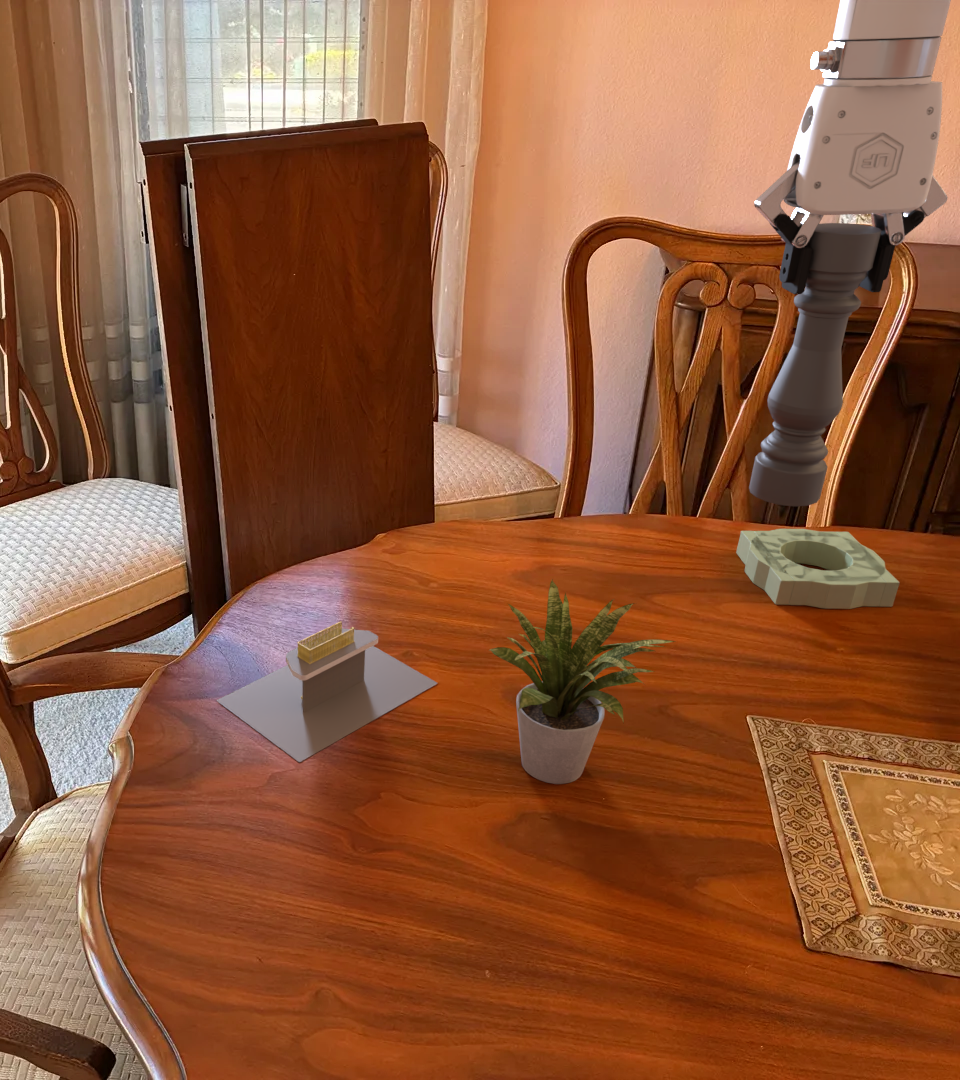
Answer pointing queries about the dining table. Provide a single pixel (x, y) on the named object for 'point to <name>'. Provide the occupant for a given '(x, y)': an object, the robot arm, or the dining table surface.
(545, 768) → the house plant
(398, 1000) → the dining table surface
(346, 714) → the platform
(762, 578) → the base pad
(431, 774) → the dining table surface
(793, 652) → the dining table surface
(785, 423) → the grey baluster
